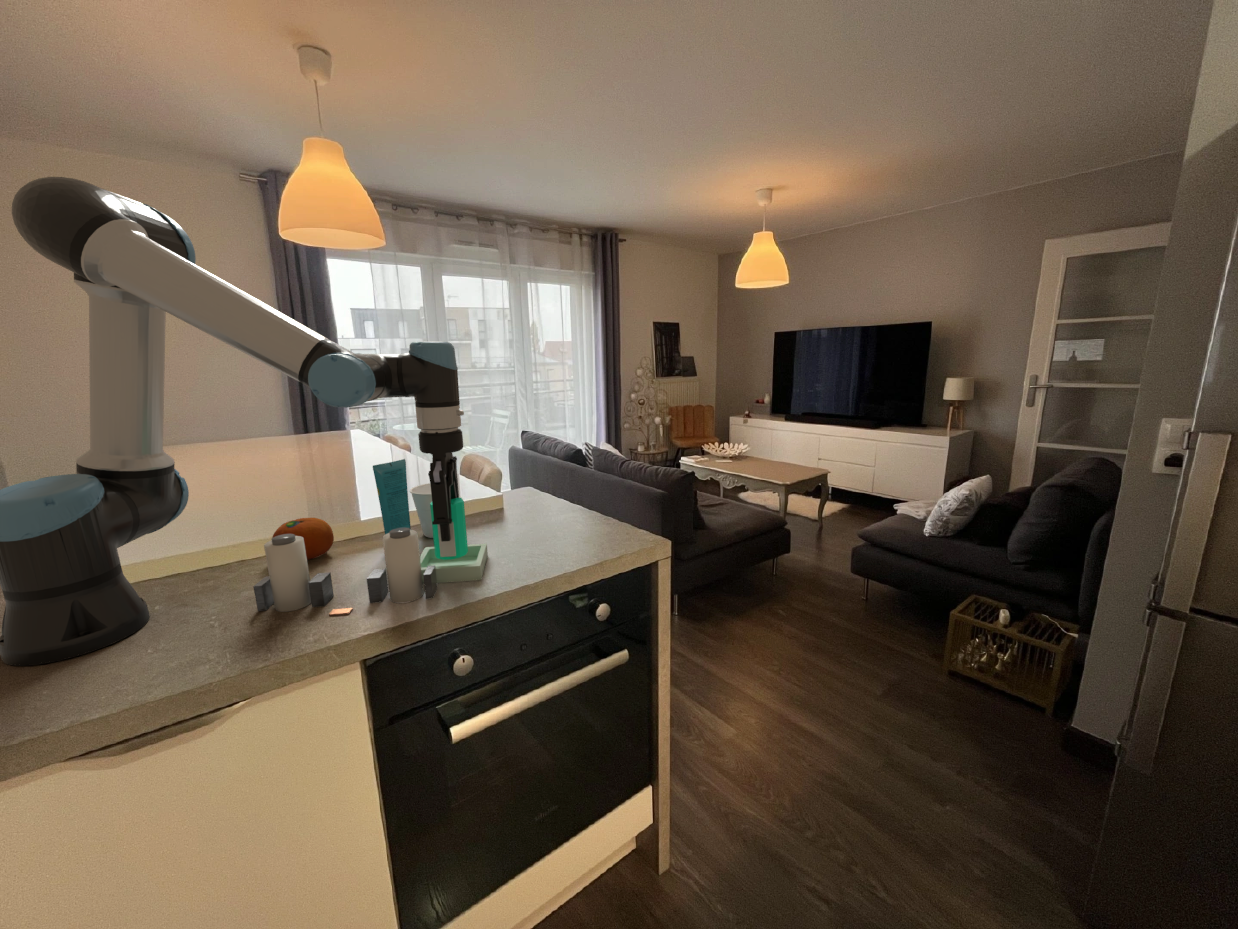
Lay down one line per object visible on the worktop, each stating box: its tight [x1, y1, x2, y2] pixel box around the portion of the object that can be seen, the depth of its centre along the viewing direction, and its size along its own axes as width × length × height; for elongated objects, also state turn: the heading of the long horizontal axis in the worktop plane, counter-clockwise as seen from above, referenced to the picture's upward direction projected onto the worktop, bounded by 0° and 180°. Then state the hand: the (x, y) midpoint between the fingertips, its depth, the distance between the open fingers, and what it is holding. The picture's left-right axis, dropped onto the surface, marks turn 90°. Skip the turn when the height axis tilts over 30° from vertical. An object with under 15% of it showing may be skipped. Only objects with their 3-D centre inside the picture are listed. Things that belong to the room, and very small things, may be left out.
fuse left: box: [263, 534, 311, 613], centre depth 82 cm, size 5×5×12 cm
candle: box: [430, 497, 469, 560], centre depth 94 cm, size 6×6×12 cm
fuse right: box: [382, 527, 425, 604], centre depth 84 cm, size 5×5×12 cm
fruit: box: [271, 517, 335, 561], centre depth 101 cm, size 11×10×8 cm
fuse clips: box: [253, 566, 438, 617], centre depth 82 cm, size 27×7×4 cm, turn 98°
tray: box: [420, 543, 489, 585], centre depth 95 cm, size 12×11×3 cm
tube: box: [372, 458, 412, 535], centre depth 103 cm, size 7×5×19 cm, turn 156°
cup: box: [409, 482, 433, 539], centre depth 114 cm, size 10×10×11 cm
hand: (451, 549), depth 95 cm, fingers closed on candle, 5 cm apart
